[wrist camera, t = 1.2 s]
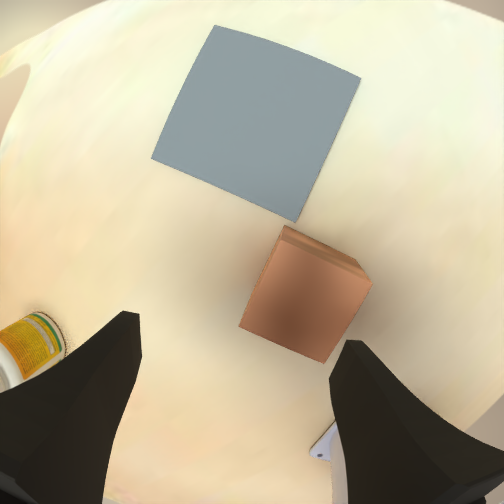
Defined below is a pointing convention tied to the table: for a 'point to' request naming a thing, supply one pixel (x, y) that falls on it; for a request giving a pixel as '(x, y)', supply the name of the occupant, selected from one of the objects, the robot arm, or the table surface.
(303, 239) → the cube
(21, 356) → the supplement bottle
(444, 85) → the table surface
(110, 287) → the table surface
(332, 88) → the mat
